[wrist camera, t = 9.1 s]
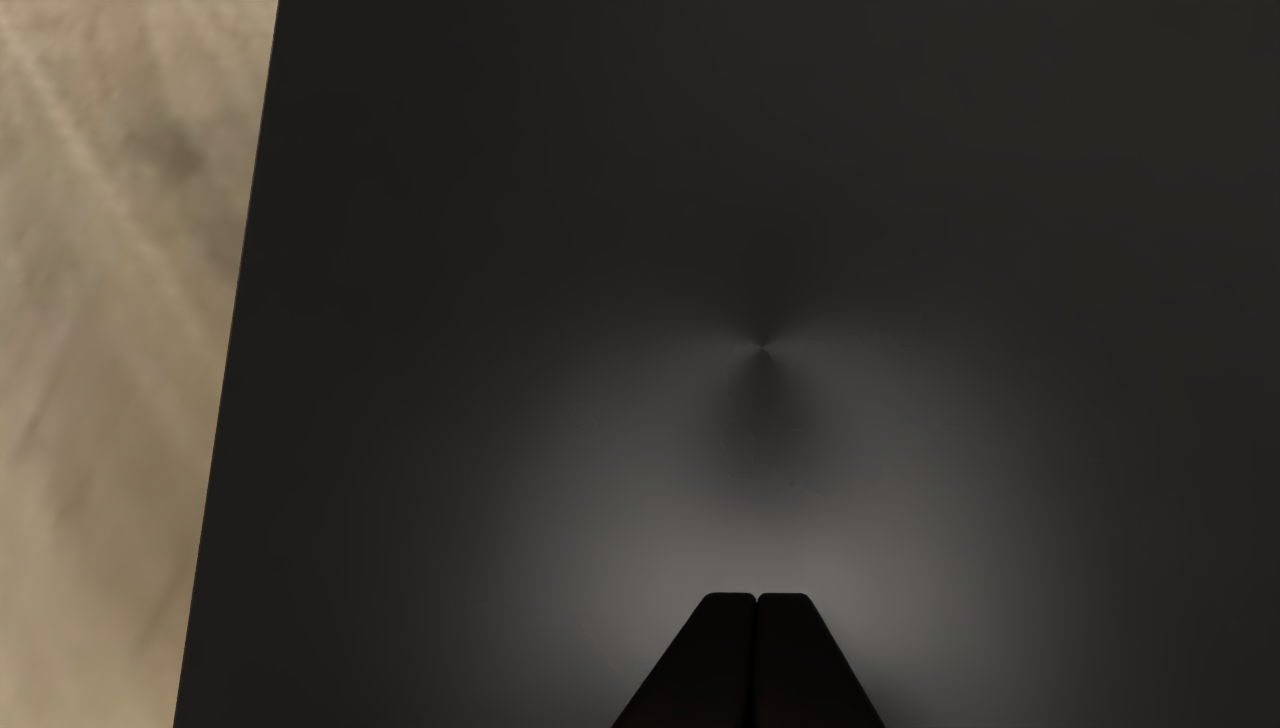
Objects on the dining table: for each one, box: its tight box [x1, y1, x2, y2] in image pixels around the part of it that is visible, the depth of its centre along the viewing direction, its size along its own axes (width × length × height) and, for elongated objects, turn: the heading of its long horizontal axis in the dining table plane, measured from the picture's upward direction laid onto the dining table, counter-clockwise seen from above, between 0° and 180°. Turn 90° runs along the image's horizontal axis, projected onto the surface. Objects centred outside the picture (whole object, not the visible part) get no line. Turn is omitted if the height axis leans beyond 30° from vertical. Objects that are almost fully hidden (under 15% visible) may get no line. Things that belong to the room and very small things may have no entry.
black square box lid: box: [173, 0, 1280, 728], centre depth 11 cm, size 14×13×1 cm
